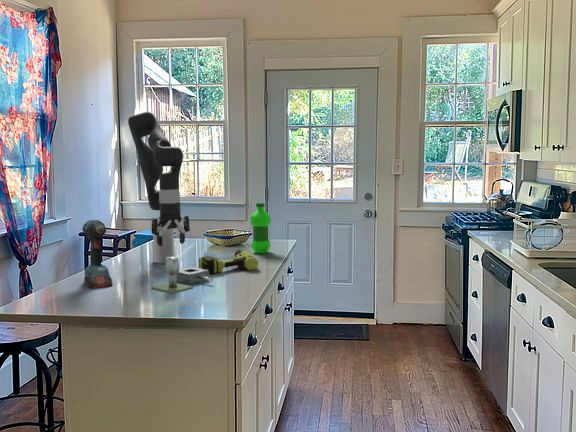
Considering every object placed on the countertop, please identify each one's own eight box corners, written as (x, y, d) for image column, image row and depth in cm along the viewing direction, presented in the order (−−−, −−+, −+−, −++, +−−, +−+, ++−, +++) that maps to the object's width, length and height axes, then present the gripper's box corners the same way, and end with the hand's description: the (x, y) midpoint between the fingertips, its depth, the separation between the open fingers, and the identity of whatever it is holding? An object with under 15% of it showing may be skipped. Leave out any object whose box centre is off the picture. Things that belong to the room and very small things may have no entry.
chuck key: (170, 289, 210) (169, 259, 210) (163, 285, 216) (162, 257, 215) (182, 287, 213) (181, 258, 212) (175, 284, 219) (174, 255, 218)
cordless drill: (191, 263, 259) (244, 260, 268) (204, 276, 236) (261, 272, 245) (191, 248, 258) (244, 245, 267) (204, 260, 235) (261, 256, 244)
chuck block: (172, 281, 227) (172, 271, 226) (191, 276, 234) (191, 266, 234) (202, 287, 216) (202, 276, 216) (221, 282, 224) (221, 272, 223)
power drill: (91, 292, 210) (88, 224, 207) (82, 279, 230) (79, 217, 227) (115, 289, 214) (113, 222, 211) (104, 277, 234) (102, 216, 231)
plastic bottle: (275, 251, 289) (274, 202, 286) (263, 255, 280) (262, 204, 277) (258, 250, 295) (258, 201, 292) (246, 253, 286) (245, 203, 283)
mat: (151, 288, 215) (151, 286, 215) (172, 283, 222) (171, 282, 222) (172, 293, 207) (172, 291, 207) (193, 288, 215) (193, 286, 215)
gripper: (156, 203, 204) (157, 248, 206) (192, 200, 212) (193, 244, 214) (147, 201, 210) (149, 245, 212) (182, 199, 218) (184, 241, 220)
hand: (171, 244), depth 213 cm, fingers open, 8 cm apart
